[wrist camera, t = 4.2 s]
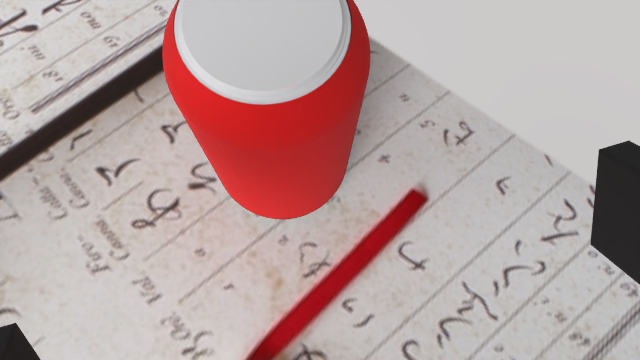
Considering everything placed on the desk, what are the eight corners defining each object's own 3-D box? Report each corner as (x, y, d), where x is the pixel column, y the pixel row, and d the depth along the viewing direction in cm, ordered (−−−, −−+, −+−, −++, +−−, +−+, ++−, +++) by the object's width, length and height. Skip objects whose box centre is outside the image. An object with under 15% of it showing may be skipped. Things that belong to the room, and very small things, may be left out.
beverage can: (248, 245, 24) (194, 164, 12) (201, 131, 25) (114, -36, 14) (367, 193, 25) (418, 72, 13) (314, 86, 26) (320, -106, 15)
